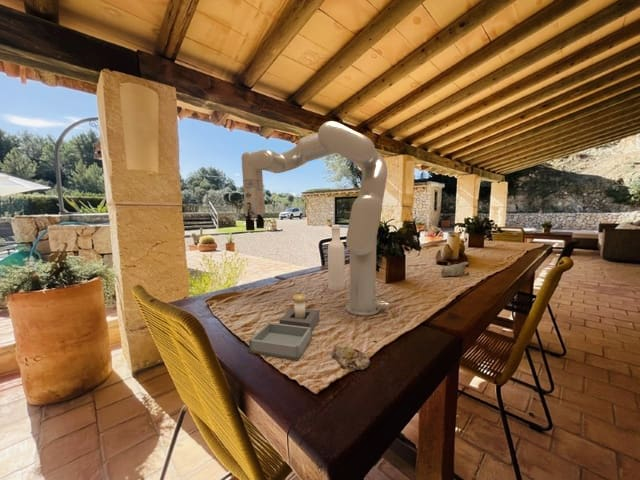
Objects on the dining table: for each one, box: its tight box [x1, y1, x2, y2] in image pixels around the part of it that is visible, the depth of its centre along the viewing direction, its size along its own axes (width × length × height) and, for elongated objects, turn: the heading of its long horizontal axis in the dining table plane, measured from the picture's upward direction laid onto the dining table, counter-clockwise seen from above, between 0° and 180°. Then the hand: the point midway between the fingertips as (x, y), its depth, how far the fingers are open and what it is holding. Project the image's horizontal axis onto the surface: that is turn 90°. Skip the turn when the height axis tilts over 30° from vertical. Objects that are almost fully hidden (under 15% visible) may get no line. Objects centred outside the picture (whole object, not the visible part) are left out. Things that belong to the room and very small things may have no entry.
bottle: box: [327, 224, 346, 292], centre depth 120 cm, size 8×8×30 cm
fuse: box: [292, 293, 307, 319], centre depth 84 cm, size 4×4×10 cm
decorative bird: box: [440, 261, 470, 278], centre depth 138 cm, size 5×16×8 cm, turn 104°
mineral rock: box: [331, 345, 371, 372], centre depth 65 cm, size 11×4×8 cm
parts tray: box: [248, 322, 313, 361], centre depth 72 cm, size 14×11×4 cm
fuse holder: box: [278, 307, 320, 331], centre depth 84 cm, size 10×10×4 cm
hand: (255, 229), depth 103 cm, fingers open, 9 cm apart
